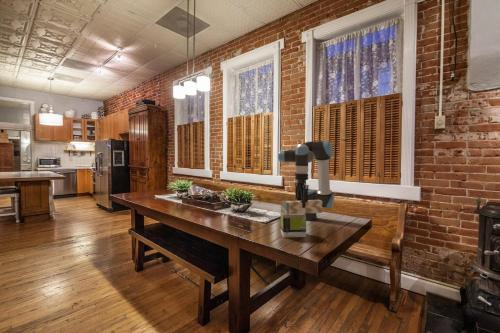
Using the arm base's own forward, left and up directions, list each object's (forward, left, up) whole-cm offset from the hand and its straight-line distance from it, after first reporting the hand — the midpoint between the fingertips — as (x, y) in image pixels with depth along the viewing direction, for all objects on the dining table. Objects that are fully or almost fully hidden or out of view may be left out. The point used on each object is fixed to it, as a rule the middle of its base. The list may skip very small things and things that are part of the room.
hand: (301, 212), depth 148 cm
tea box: (-15, +2, -19) cm, 24 cm away
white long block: (0, +2, 0) cm, 2 cm away
